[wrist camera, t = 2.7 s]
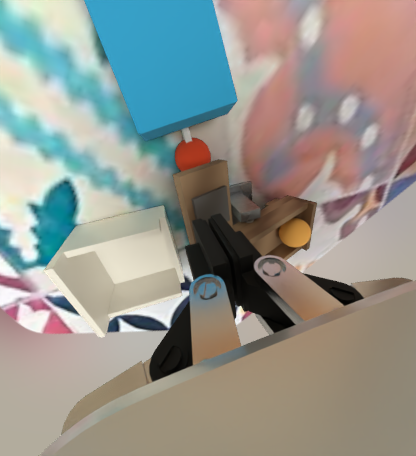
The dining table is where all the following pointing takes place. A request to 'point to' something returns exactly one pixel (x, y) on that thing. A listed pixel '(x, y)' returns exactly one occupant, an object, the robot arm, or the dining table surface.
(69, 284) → the box
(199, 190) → the brown shallow tray
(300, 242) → the ball
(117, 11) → the lever
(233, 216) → the stand
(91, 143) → the dining table surface
